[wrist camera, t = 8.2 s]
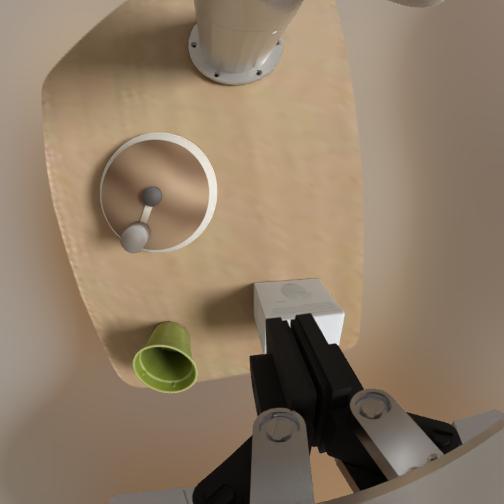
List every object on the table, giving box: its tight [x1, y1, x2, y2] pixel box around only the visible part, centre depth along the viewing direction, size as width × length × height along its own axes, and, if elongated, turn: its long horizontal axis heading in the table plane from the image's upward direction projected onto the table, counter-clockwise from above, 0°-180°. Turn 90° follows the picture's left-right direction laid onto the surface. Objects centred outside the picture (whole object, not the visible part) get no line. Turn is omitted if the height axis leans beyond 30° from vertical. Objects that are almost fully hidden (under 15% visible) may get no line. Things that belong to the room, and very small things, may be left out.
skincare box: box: [254, 278, 345, 354], centre depth 41 cm, size 10×6×10 cm, turn 91°
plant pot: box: [133, 322, 198, 393], centre depth 42 cm, size 9×9×9 cm
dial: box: [102, 140, 209, 253], centre depth 33 cm, size 14×14×5 cm
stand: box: [100, 132, 217, 253], centre depth 37 cm, size 16×16×2 cm
